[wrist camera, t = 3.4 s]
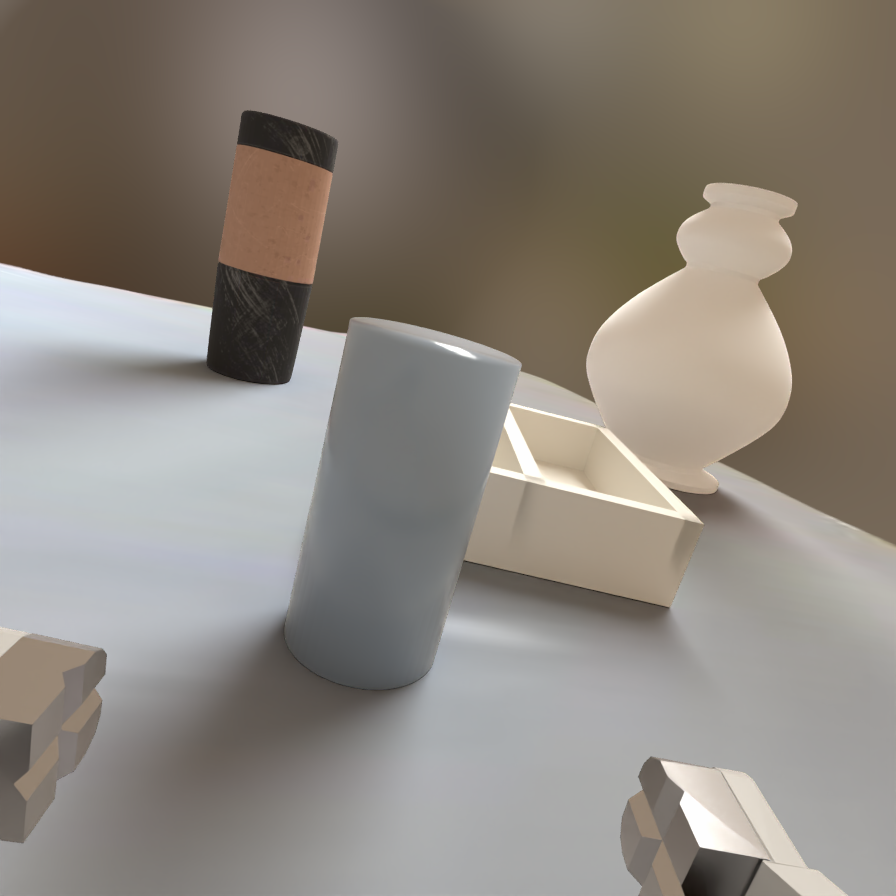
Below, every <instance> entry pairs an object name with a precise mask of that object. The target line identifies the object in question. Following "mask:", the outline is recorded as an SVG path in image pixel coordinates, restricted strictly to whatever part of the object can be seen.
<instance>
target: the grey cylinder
mask: <svg viewBox="0 0 896 896" xmlns="http://www.w3.org/2000/svg"><path fill="white" fill-rule="evenodd" d="M521 366H522V364H521V363H520V362H519V361H518V360H516V359H515V358H513V357H511V356H509V355H507V354H505V353H502V352H500V351H497V350H495V349H492V348H489V347H487V346H484V345H481V344H478V343H475V342H472V341H469V340H466V339H463V338H459V337H456V336H452V335H449V334H445V333H441V332H438V331H434V330H430V329H426V328H422V327H418V326H413V325H409V324H404V323H399V322H394V321H389V320H382V319H375V318H366V317H355V318H351V320H350V323H349V328H348V332H347V337H346V342H345V346H344V351H343V356H342V360H341V365H340V370H339V374H338V379H337V384H336V388H335V393H334V398H333V402H332V407H331V412H330V416H329V421H328V426H327V430H326V435H325V440H324V444H323V449H322V454H321V458H320V463H319V468H318V472H317V477H316V482H315V486H314V491H313V496H312V500H311V505H310V510H309V514H308V519H307V524H306V528H305V533H304V538H303V542H302V547H301V552H300V556H299V561H298V566H297V570H296V575H295V580H294V584H293V589H292V594H291V598H290V603H289V608H288V612H287V617H286V622H285V626H284V636H285V641H286V643H287V646H288V648H289V650H290V651H291V653H292V654H293V655H294V656H295V658H296V659H297V660H298V661H299V662H300V663H301V664H302V665H304V666H305V667H306V668H308V669H309V670H310V671H312V672H314V673H315V674H317V675H319V676H321V677H323V678H325V679H327V680H329V681H332V682H335V683H338V684H341V685H345V686H349V687H353V688H359V689H369V690H385V689H393V688H398V687H402V686H406V685H408V684H411V683H413V682H415V681H417V680H419V679H420V678H421V677H423V676H424V675H425V674H426V673H427V672H428V671H429V670H430V668H431V666H432V665H433V662H434V659H435V655H436V652H437V649H438V645H439V642H440V639H441V635H442V632H443V628H444V625H445V622H446V618H447V615H448V612H449V608H450V605H451V602H452V598H453V595H454V591H455V588H456V585H457V581H458V578H459V575H460V571H461V568H462V565H463V561H464V558H465V554H466V551H467V548H468V544H469V541H470V538H471V534H472V531H473V527H474V524H475V521H476V517H477V514H478V511H479V507H480V504H481V501H482V497H483V494H484V490H485V487H486V484H487V480H488V477H489V474H490V470H491V467H492V464H493V460H494V457H495V453H496V450H497V447H498V443H499V440H500V437H501V433H502V430H503V426H504V423H505V420H506V416H507V413H508V410H509V406H510V403H511V400H512V396H513V393H514V389H515V386H516V383H517V379H518V376H519V373H520V369H521Z"/></svg>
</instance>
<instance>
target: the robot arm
mask: <svg viewBox="0 0 896 896" xmlns="http://www.w3.org/2000/svg"><path fill="white" fill-rule="evenodd" d="M106 659H107V654H106V653H105V651H104V650H103V649H102V648H97V647H93V646H88V645H84V644H79V643H74V642H70V641H65V640H61V639H56V638H52V637H47V636H43V635H38V634H33V633H32V634H29V633H27V632H22V631H17V630H13V629H8V628H3V627H0V840H2V841H10V842H17V843H24V841H25V840H26V838H27V837H28V836H29V834H30V833H31V831H32V830H33V829H34V827H35V826H36V824H37V823H38V822H39V820H40V819H41V817H42V816H43V814H44V813H45V812H46V810H47V809H48V807H49V806H50V805H51V803H52V802H53V800H54V799H55V790H56V781H57V780H58V779H60V778H62V777H64V776H66V775H68V774H70V773H72V772H74V770H75V769H76V767H77V766H78V764H79V763H80V761H81V760H82V758H83V757H84V756H85V754H86V752H87V750H88V748H89V745H90V743H91V741H92V739H93V737H94V735H95V733H96V729H97V725H98V722H99V718H100V714H101V707H102V699H101V697H100V696H99V694H98V693H97V691H96V690H95V687H96V685H97V684H98V683H99V682H100V680H101V679H102V678H103V676H104V675H105V672H106ZM638 778H639V780H640V783H641V786H642V789H643V790H642V791H640V792H639V793H637V794H636V795H634V796H633V797H631V798H630V799H629V800H628V802H627V805H626V808H625V810H624V813H623V816H622V822H621V834H620V839H621V847H622V854H623V857H624V861H625V864H626V867H627V870H628V871H629V872H630V873H631V874H632V876H633V877H634V878H635V879H636V880H637V881H638V882H639V883H640V885H641V886H642V888H641V890H640V893H639V895H638V896H848V895H847V894H845V893H844V892H843V891H842V890H841V889H840V888H838V887H837V886H836V885H835V884H834V883H832V882H831V881H830V880H829V879H828V878H826V877H825V876H824V875H823V874H822V873H820V872H819V871H818V870H813V869H808V868H807V866H806V865H805V863H804V861H803V860H802V858H801V856H800V855H799V853H798V852H797V850H796V848H795V847H794V845H793V843H792V842H791V840H790V839H789V837H788V835H787V834H786V832H785V831H784V829H783V827H782V826H781V824H780V822H779V821H778V819H777V818H776V816H775V814H774V813H773V811H772V810H771V808H770V806H769V805H768V803H767V801H766V800H765V798H764V797H763V795H762V793H761V792H760V790H759V789H758V787H757V785H756V784H755V782H754V780H753V779H752V778H750V777H749V776H748V775H747V774H745V773H744V772H738V771H732V770H726V769H720V768H715V767H713V768H709V767H704V766H699V765H693V764H688V763H683V762H678V761H672V760H667V759H662V758H656V757H650V758H649V759H648V760H647V761H646V762H645V763H644V764H643V766H642V769H641V771H640V773H639V776H638Z"/></svg>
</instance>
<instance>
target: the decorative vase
mask: <svg viewBox="0 0 896 896" xmlns="http://www.w3.org/2000/svg"><path fill="white" fill-rule="evenodd" d="M703 197H704V198H705V199H706V200H707V201H708V202H709V203H710V204H711V206H710V208H708V209H706V210H704V211H702V212H699V213H697V214H696V215H693V216H692V217H690V218H688V219H687V220H686V221H685V222H684V223H683V224H682V225H681V227H680V228H679V230H678V233H677V244H678V247H679V249H680V252H681V254H682V256H683V257H684V259H685V260H686V261H687V265H686V267H685V268H683V269H681V270H680V271H678V272H676V273H674V274H672V275H670V276H669V277H667V278H665V279H663V280H661V281H660V282H658V283H656V284H654V285H653V286H651V287H649V288H648V289H646V290H644V291H643V292H641V293H640V294H638V295H637V296H635V297H634V298H633V299H631V300H630V301H628V302H627V303H626V304H624V305H623V306H622V307H621V308H620V309H618V310H617V311H616V312H615V313H614V314H613V315H612V316H611V317H610V318H609V319H608V320H606V322H605V323H604V324H603V325H602V326H601V327H600V329H599V330H598V332H597V333H596V335H595V337H594V339H593V341H592V343H591V346H590V348H589V351H588V355H587V362H586V368H587V375H588V380H589V383H590V387H591V390H592V393H593V396H594V399H595V402H596V404H597V407H598V410H599V412H600V415H601V418H602V420H603V423H604V425H605V427H606V428H608V429H609V430H610V431H611V432H612V433H613V434H614V435H615V436H616V437H617V438H618V439H619V440H620V441H621V442H622V443H623V444H624V445H625V446H626V447H627V448H628V449H629V450H630V451H631V452H632V453H633V454H634V455H635V456H636V457H637V458H638V459H639V460H640V461H641V462H642V463H643V464H644V465H645V466H646V467H647V468H648V469H649V470H650V471H651V472H652V473H653V474H654V475H655V476H656V477H657V478H658V479H659V480H660V481H661V482H662V483H663V484H664V485H665V486H666V487H667V488H670V489H674V490H678V491H683V492H688V493H695V494H712V493H715V492H716V491H717V488H718V486H719V483H718V481H717V480H716V478H714V477H713V476H712V475H711V474H709V473H708V472H706V471H705V470H703V468H705V467H707V466H709V465H711V464H713V463H715V462H717V461H719V460H721V459H722V458H724V457H726V456H728V455H730V454H732V453H733V452H735V451H737V450H739V449H740V448H742V447H744V446H746V445H748V444H749V443H751V442H752V441H754V440H756V439H758V438H759V437H761V436H762V435H763V434H765V433H766V432H768V431H769V430H770V429H771V428H773V427H774V426H775V425H776V424H777V422H778V421H779V420H780V419H781V417H782V415H783V414H784V412H785V409H786V407H787V404H788V402H789V398H790V394H791V387H792V374H791V366H790V361H789V357H788V353H787V350H786V346H785V343H784V340H783V337H782V334H781V332H780V329H779V327H778V324H777V322H776V320H775V318H774V316H773V314H772V312H771V310H770V308H769V306H768V304H767V302H766V300H765V298H764V297H763V295H762V293H761V291H760V289H759V287H758V282H759V280H761V279H763V278H766V277H768V276H770V275H772V274H774V273H775V272H777V271H779V270H780V269H782V268H783V267H784V266H785V265H786V264H787V263H788V261H789V260H790V257H791V254H792V246H791V242H790V240H789V238H788V236H787V234H786V233H785V231H784V230H783V228H782V227H781V226H780V224H779V223H778V222H779V219H782V218H786V217H790V216H793V215H794V213H795V210H796V208H797V205H798V204H797V202H796V201H794V200H793V199H791V198H789V197H787V196H784V195H781V194H779V193H776V192H772V191H768V190H765V189H761V188H756V187H751V186H746V185H739V184H729V183H712V184H708V185H707V186H706V188H705V190H704V193H703Z"/></svg>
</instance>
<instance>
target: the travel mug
mask: <svg viewBox="0 0 896 896" xmlns="http://www.w3.org/2000/svg"><path fill="white" fill-rule="evenodd" d="M237 144H238V145H237V148H236V154H235V160H234V167H233V173H232V180H231V186H230V191H229V198H228V204H227V210H226V216H225V222H224V229H223V235H222V241H221V247H220V254H219V263H218V268H217V276H216V285H215V293H214V302H213V310H212V319H211V327H210V335H209V344H208V354H207V365H208V367H209V368H210V369H212V370H214V371H216V372H218V373H220V374H223V375H226V376H229V377H232V378H236V379H240V380H244V381H250V382H256V383H265V384H282V383H287V382H289V381H290V379H291V375H292V371H293V367H294V363H295V359H296V354H297V350H298V346H299V341H300V337H301V332H302V328H303V323H304V319H305V314H306V310H307V306H308V301H309V297H310V293H311V287H312V286H311V285H312V283H313V278H314V273H315V267H316V262H317V256H318V251H319V245H320V240H321V235H322V229H323V224H324V218H325V213H326V207H327V202H328V197H329V191H330V186H331V180H332V173H333V169H334V164H335V159H336V153H337V147H338V141H337V140H336V139H335V138H333V137H332V136H330V135H328V134H326V133H324V132H321V131H319V130H316V129H314V128H311V127H309V126H306V125H303V124H300V123H297V122H294V121H291V120H288V119H285V118H281V117H277V116H274V115H270V114H266V113H262V112H257V111H248V110H247V111H244V112H243V113H242V116H241V123H240V129H239V136H238V142H237Z"/></svg>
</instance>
